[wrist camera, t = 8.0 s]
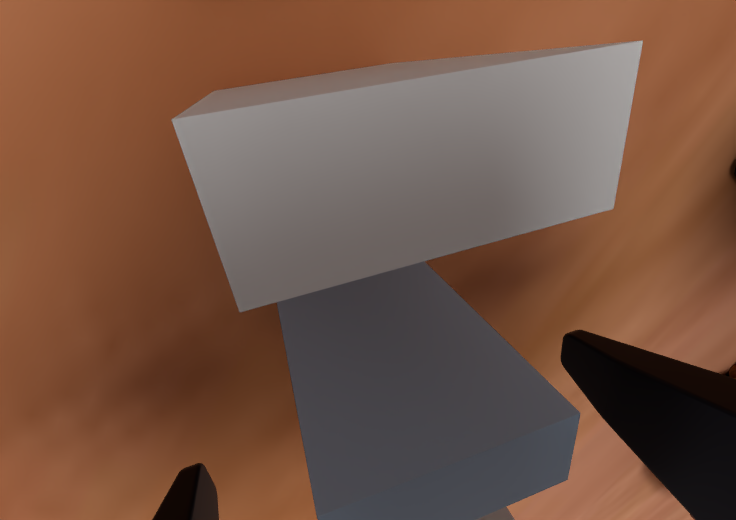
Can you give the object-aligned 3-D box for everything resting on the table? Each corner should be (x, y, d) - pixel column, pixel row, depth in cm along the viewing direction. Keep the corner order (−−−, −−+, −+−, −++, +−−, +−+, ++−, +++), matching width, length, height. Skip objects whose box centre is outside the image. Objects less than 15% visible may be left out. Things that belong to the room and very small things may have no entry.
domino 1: (397, 134, 12) (612, 208, 5) (236, 165, 11) (239, 312, 4) (390, 63, 11) (643, 40, 4) (214, 91, 10) (172, 119, 3)
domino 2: (413, 293, 15) (567, 480, 8) (285, 329, 14) (337, 579, 7) (409, 247, 14) (580, 413, 7) (272, 282, 13) (316, 517, 6)
